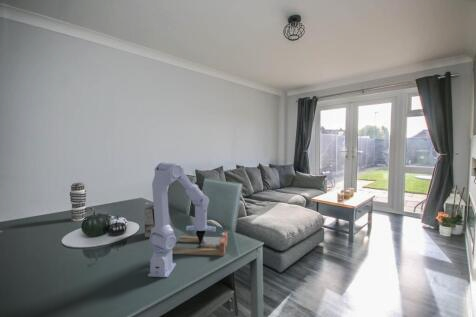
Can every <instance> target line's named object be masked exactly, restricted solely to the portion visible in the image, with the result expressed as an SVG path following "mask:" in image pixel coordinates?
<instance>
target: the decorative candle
mask: <svg viewBox="0 0 476 317" xmlns="http://www.w3.org/2000/svg"><path fill="white" fill-rule="evenodd" d="M86 192H87V190H86V188H85V183H84V182H75V183H72V184H71V185H70V192H69V197H70V198H69V199H70V204H71V210H70V211H71V212H70V213H71V215H70V217H71V221H72V220H73V221H72V222H78V221H79V222H80V221H83V219H84V218H85V217H87V207H86V200H87V198H86V197H87V193H86ZM84 220H85V219H84Z"/></svg>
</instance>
